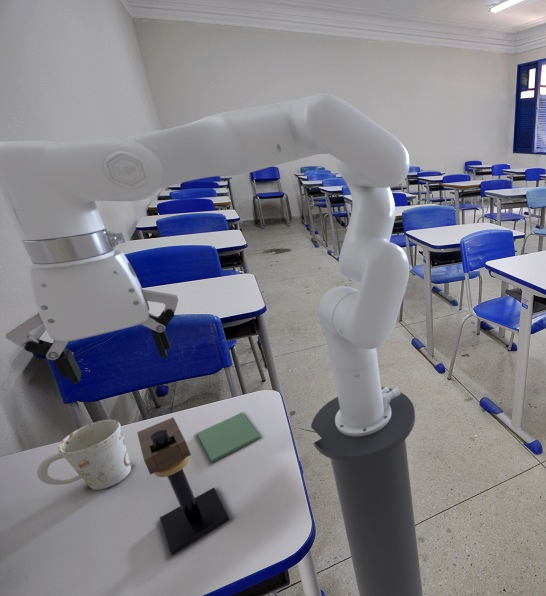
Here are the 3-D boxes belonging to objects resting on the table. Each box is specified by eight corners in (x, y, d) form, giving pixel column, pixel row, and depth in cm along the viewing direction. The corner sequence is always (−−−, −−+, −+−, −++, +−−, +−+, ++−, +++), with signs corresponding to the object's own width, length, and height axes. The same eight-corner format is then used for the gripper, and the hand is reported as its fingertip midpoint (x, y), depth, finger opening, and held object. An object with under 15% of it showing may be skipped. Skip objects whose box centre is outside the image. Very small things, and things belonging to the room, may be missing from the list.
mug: (137, 480, 70) (116, 438, 66) (44, 517, 63) (15, 472, 59) (140, 453, 76) (122, 413, 72) (56, 483, 70) (31, 442, 66)
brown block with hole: (191, 455, 56) (185, 440, 56) (150, 474, 53) (143, 460, 52) (178, 429, 65) (173, 416, 64) (142, 445, 62) (136, 432, 61)
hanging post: (215, 491, 67) (184, 409, 60) (229, 519, 61) (197, 433, 55) (161, 521, 61) (120, 435, 55) (171, 555, 56) (127, 464, 49)
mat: (242, 414, 86) (241, 412, 86) (260, 437, 79) (259, 435, 78) (197, 435, 80) (197, 433, 80) (212, 462, 73) (211, 460, 73)
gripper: (155, 232, 54) (191, 337, 61) (-23, 256, 45) (42, 378, 51) (157, 241, 49) (196, 355, 55) (-46, 270, 39) (31, 404, 45)
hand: (122, 366), depth 53 cm, fingers open, 9 cm apart
